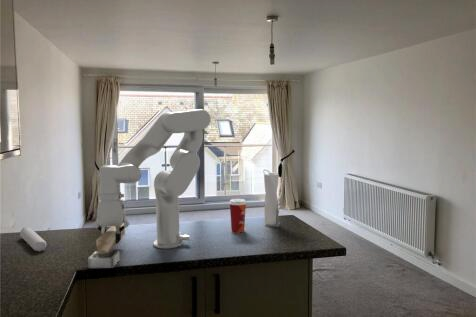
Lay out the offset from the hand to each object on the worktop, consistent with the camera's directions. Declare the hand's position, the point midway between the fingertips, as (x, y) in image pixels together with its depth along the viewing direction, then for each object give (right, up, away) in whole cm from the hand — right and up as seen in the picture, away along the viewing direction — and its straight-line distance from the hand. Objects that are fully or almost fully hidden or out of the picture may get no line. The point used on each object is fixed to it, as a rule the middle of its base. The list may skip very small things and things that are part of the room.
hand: (111, 242), depth 148 cm
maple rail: (0, -1, 0) cm, 0 cm away
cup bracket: (0, -6, -8) cm, 10 cm away
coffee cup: (+50, -2, +31) cm, 59 cm away
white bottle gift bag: (+67, -1, +42) cm, 79 cm away
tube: (-38, -4, +13) cm, 40 cm away
